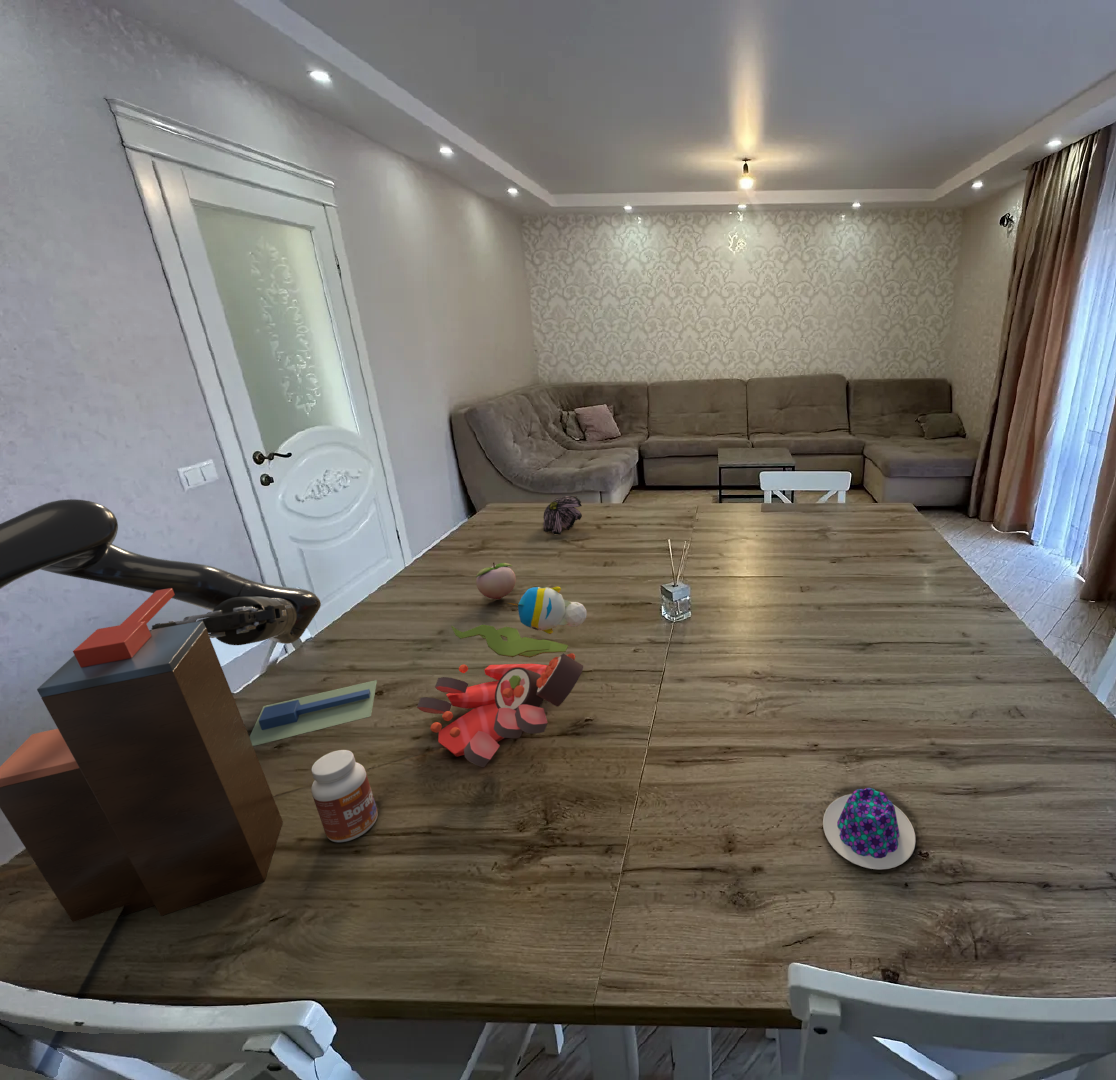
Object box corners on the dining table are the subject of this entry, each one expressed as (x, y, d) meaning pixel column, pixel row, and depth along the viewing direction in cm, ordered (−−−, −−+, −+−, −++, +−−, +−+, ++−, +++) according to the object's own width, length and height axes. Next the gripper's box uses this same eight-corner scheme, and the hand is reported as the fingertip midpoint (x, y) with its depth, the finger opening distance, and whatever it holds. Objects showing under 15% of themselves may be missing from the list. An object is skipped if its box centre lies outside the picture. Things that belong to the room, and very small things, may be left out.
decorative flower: (528, 499, 186) (570, 481, 190) (540, 525, 194) (580, 507, 198) (540, 523, 176) (584, 503, 181) (552, 549, 184) (594, 529, 189)
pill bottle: (356, 847, 74) (334, 782, 70) (315, 841, 75) (291, 777, 71) (389, 809, 80) (370, 747, 76) (350, 804, 81) (330, 743, 77)
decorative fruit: (495, 611, 135) (489, 573, 131) (474, 603, 139) (467, 566, 135) (526, 595, 142) (521, 559, 139) (505, 588, 146) (499, 553, 143)
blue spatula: (267, 716, 99) (264, 707, 98) (371, 691, 105) (369, 682, 104) (261, 730, 96) (258, 720, 95) (369, 704, 102) (367, 694, 101)
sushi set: (585, 776, 87) (409, 774, 75) (542, 739, 112) (406, 733, 101) (615, 592, 92) (456, 565, 81) (568, 598, 118) (442, 577, 107)
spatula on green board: (244, 750, 92) (244, 748, 92) (264, 707, 102) (263, 706, 102) (371, 718, 99) (370, 716, 99) (377, 681, 109) (376, 679, 109)
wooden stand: (67, 947, 63) (-86, 713, 51) (111, 873, 71) (-12, 658, 60) (264, 881, 70) (169, 663, 58) (283, 821, 78) (203, 620, 67)
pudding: (831, 788, 83) (834, 759, 81) (917, 811, 78) (922, 782, 77) (814, 855, 72) (816, 825, 70) (911, 886, 68) (916, 855, 66)
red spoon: (80, 668, 58) (72, 651, 57) (148, 602, 71) (142, 588, 70) (131, 658, 59) (124, 641, 58) (188, 596, 73) (183, 582, 72)
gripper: (193, 605, 89) (125, 608, 74) (299, 588, 94) (256, 588, 79) (200, 652, 89) (134, 665, 74) (306, 633, 94) (264, 641, 79)
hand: (197, 625), depth 76 cm, fingers open, 8 cm apart
